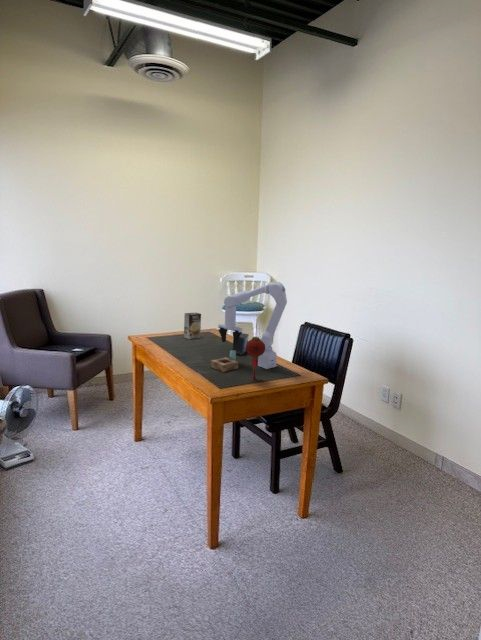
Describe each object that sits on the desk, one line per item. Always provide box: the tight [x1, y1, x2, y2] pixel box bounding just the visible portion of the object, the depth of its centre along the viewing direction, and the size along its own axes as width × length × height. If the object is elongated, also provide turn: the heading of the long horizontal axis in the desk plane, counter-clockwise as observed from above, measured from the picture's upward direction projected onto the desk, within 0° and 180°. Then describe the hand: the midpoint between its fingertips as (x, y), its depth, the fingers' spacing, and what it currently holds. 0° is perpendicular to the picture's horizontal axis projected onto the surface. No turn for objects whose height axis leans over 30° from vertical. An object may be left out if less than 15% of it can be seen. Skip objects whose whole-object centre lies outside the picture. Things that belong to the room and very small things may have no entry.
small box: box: [232, 332, 249, 356], centre depth 245 cm, size 11×6×10 cm, turn 162°
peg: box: [229, 350, 237, 361], centre depth 223 cm, size 3×3×7 cm
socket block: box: [210, 356, 239, 373], centre depth 216 cm, size 10×10×4 cm
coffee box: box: [183, 312, 202, 340], centre depth 276 cm, size 9×6×16 cm
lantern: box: [246, 320, 265, 380], centre depth 199 cm, size 10×10×30 cm
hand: (229, 343), depth 227 cm, fingers open, 7 cm apart
